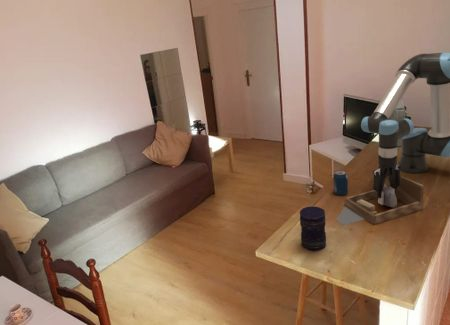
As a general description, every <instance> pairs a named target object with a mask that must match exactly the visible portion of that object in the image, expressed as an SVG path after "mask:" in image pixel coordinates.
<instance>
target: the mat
mask: <svg viewBox="0 0 450 325" xmlns="http://www.w3.org/2000/svg"><path fill="white" fill-rule="evenodd" d="M364 220H365V221H366V219H364V218H363V217H361V216H360V215H358V214H357V213H355V212H354V211H352V210H351V209H349V208H348V207H346V206H345V205H344V206H343V208H342V210H341V212H340V214H339V215H338V216H337V218H336V222H338V223H340V225H341V226H347V225H348V226H349V225H350V224H354V223H358V222H362V221H364Z"/></svg>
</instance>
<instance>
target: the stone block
mask: <svg viewBox="0 0 450 325" xmlns="http://www.w3.org/2000/svg"><path fill="white" fill-rule="evenodd" d="M383 192H384V204H383V205H382V206H386V207H389V208H392V209H394V208H397V205H398V199H397V198H396V196H395V193H394V190H392V189H390V188H388V186H387V183H386V184H385V183H384V187H383ZM376 194H377V192H376Z"/></svg>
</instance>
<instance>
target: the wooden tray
mask: <svg viewBox="0 0 450 325" xmlns="http://www.w3.org/2000/svg"><path fill="white" fill-rule="evenodd" d="M386 179H387V180H386V185H387V186H388V188H389V187H391V186H390V181H389V177H388V176H387V178H386ZM397 187H398V188H397V189H396V190H395V196H396V199H397V200H399V202H400V201H401V202H402V203H404V204H405V205H401V206H398V207H395V208H392V209H391V208H390V209H389V210H385V211H382V212H377V214H375V215H374V214H372V213H371V212H369V211H368V210H366V209H364V208H363V207H361V206H359V205H358V204H356V201H358V200H361V199H362V200H364V201H366V202H368V201H369V200H373V199H378V197H377V194H376V191H375V190H368V191H366V192H362V193H359V194H354V195H351V196H347V197H344V199H343V200H344V207H345V206H346V207H347V208H349V209H350V210H352V211H353V212H355V213H356V214H358V215H359V216H361V217H362V218H364V219H365V221H367V222H369V223H371V224H372V225H373V226H374V225H377V224H379V223H384V222H387V221H390V220H393V219H396V218H400V217H403V216H406V215H409V214H412V213H417V212H419V211H423V200H424V190H425V189H424V187H425V186H424V184H421V183H419V182H417V181H414V180H412V179H409V178H407V177H405V176H402V175H400V185H399V186H397Z"/></svg>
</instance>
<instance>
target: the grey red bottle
mask: <svg viewBox="0 0 450 325" xmlns="http://www.w3.org/2000/svg"><path fill="white" fill-rule="evenodd" d="M405 110H406V109H405V104H404V101H403V100H402V99H401V100H400V101H399V103H398V105H397V106H396V108H395V109H394V111H393V113H392V114H391V116H390V117H389V119H393V120H400V119H405V118H406V111H405ZM402 138H403V137H402ZM402 138H400V139H398V143H397V147H402Z"/></svg>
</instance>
